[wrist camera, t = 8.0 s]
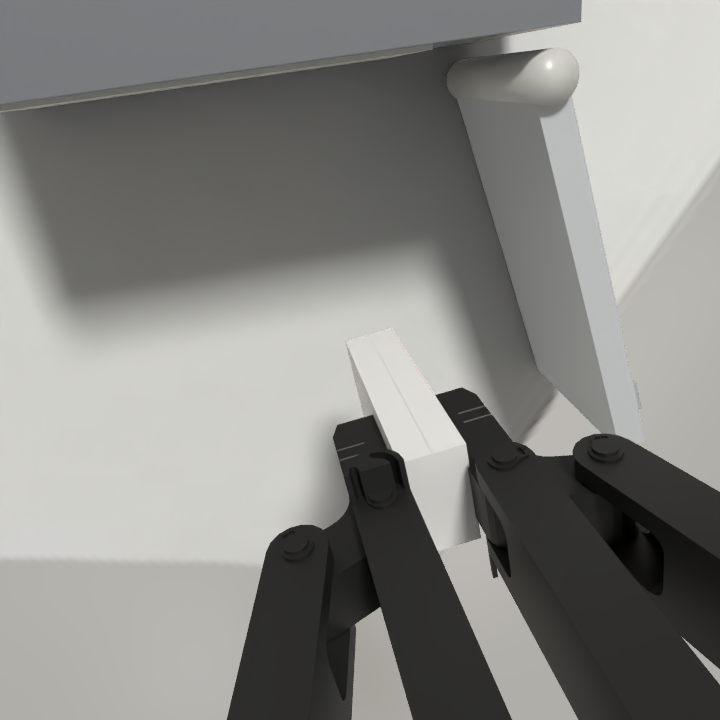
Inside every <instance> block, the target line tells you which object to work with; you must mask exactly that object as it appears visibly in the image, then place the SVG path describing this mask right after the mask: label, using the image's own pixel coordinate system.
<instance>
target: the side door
mask: <svg viewBox="0 0 720 720" xmlns="http://www.w3.org/2000/svg"><path fill="white" fill-rule="evenodd" d="M578 79H579V66H578V63H577V60H576V59H575V57H574V56H573V54H572V53H571V52H569V51H568V50H566V49H563V48H550V49H542V50H533V51H525V52H517V53H509V54H501V55H492V56H484V57H476V58H468V59H461V60H459V61H457V62H455V63H454V64H453V65H452V66H451V68H450V69H449V71H448V74H447V79H446V83H447V88H448V90H449V92H450V94H451V95H452V96H453V97H455V98H456V99H457V100H458V104H459V107H460V110H461V114H462V117H463V120H464V124H465V127H466V130H467V134H468V137H469V140H470V144H471V147H472V150H473V154H474V157H475V161H476V164H477V167H478V171H479V174H480V177H481V181H482V184H483V187H484V191H485V194H486V197H487V201H488V204H489V207H490V211H491V214H492V218H493V221H494V224H495V228H496V231H497V234H498V238H499V241H500V244H501V248H502V251H503V254H504V258H505V261H506V264H507V268H508V271H509V274H510V278H511V281H512V285H513V288H514V291H515V295H516V298H517V301H518V305H519V308H520V311H521V315H522V318H523V321H524V325H525V328H526V331H527V335H528V338H529V342H530V345H531V348H532V352H533V355H534V358H535V362H536V365H537V368H538V370H539V371H540V372H541V373H542V374H543V375H544V376H545V377H546V378H547V379H548V380H549V381H550V382H551V383H552V384H553V385H554V386H555V387H556V388H557V389H558V390H559V391H560V392H561V393H562V394H563V395H564V396H565V397H566V398H567V399H568V400H569V401H570V402H571V403H572V404H573V405H574V406H575V407H576V408H577V409H578V410H579V411H580V412H581V413H582V414H583V415H584V416H585V417H586V418H587V419H588V420H589V421H590V422H591V423H592V424H593V425H594V426H595V427H596V428H597V429H598V430H599V431H600V432H601V433H602V434H605V433H606V434H613V435H619V436H621V437H624V438H626V439H629V440H631V441H632V442H634V443H636V444H639V443H641V442H643V441H645V437H644V433H643V428H642V423H641V419H640V415H639V409H641V403H640V398H639V393H638V388H637V383H636V382H635V381H634V380H632V376H631V372H630V367H629V362H628V358H627V353H626V348H625V344H624V339H623V334H622V330H621V325H620V320H619V315H618V311H617V306H616V301H615V297H614V292H613V287H612V282H611V278H610V273H609V268H608V264H607V259H606V254H605V250H604V245H603V240H602V236H601V231H600V226H599V222H598V217H597V212H596V207H595V203H594V198H593V193H592V189H591V184H590V179H589V175H588V170H587V165H586V161H585V156H584V151H583V146H582V142H581V137H580V132H579V128H578V123H577V118H576V114H575V109H574V104H573V100H572V94H573V92H574V90H575V88H576V86H577V83H578Z"/></svg>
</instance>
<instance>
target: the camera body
mask: <svg viewBox="0 0 720 720" xmlns="http://www.w3.org/2000/svg"><path fill="white" fill-rule="evenodd" d="M581 4H582V0H0V112H9V111H18V110H27V109H36V108H43V107H50V106H57V105H64V104H71V103H78V102H85V101H92V100H99V99H106V98H113V97H120V96H127V95H134V94H141V93H148V92H155V91H162V90H169V89H176V88H183V87H190V86H197V85H204V84H211V83H218V82H225V81H232V80H239V79H246V78H253V77H260V76H267V75H274V74H281V73H288V72H295V71H302V70H309V69H316V68H323V67H330V66H337V65H344V64H351V63H358V62H365V61H372V60H379V59H386V58H392V57H397V56H402V55H408V54H413V53H418V52H423V51H428V50H433V48H438V47H445V46H452V45H459V44H466V43H473V42H479V41H484V40H489V39H494V38H499V37H505V36H510V35H515V34H520V33H526V32H531V31H536V30H541V29H547V28H552V27H557V26H562V25H568V24H573V23H578V22H581Z"/></svg>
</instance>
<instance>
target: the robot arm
mask: <svg viewBox="0 0 720 720" xmlns="http://www.w3.org/2000/svg"><path fill="white" fill-rule="evenodd" d="M345 342H346V346H347V350H348V354H349V358H350V362H351V366H352V370H353V374H354V378H355V382H356V386H357V390H358V394H359V398H360V402H361V406H362V410H363V414H364V417H363V418H360V419H357V420H353V421H350V422H346V423H343V424H339V425H337V428H336V430H335V433H334V436H333V440H334V443H335V447H336V450H337V454H338V458H339V461H340V465H341V468H342V472H343V475H344V479H345V483H346V486H347V490H348V493H349V499H350V502H349V506H348V509H347V510H346V512H345V514H344V515H343V516H342V517H341V518H340V519H339V520H338V521H337V522H335V523H334V524H333V525H331V526H330V527H328V528H326V529H325V530H322V529H321V528H319V527H316V526H314V525H299V526H295V527H292V528H289V529H287V530H285V531H284V532H282V533H280V534H279V535H278V536H277V537H276V538H275V539H274V540H273V541H272V542H271V543H270V545H269V547H268V549H267V552H266V555H265V560H264V564H263V568H262V572H261V577H260V581H259V585H258V590H257V594H256V598H255V603H254V607H253V611H252V616H251V620H250V623H249V628H248V632H247V636H246V640H245V645H244V649H243V653H242V658H241V662H240V666H239V670H238V675H237V679H236V683H235V688H234V692H233V696H232V700H231V705H230V709H229V713H228V717H227V720H351V716H352V697H353V678H354V659H355V638H356V627H355V624H356V623H357V622H359V621H360V620H361V619H363V618H364V617H366V616H367V615H369V614H370V613H372V612H373V611H375V610H376V609H378V608H379V607H381V609H382V613H383V616H384V620H385V623H386V627H387V630H388V634H389V637H390V641H391V644H392V648H393V651H394V655H395V658H396V662H397V665H398V669H399V672H400V676H401V679H402V683H403V686H404V689H405V693H406V697H407V700H408V704H409V707H410V711H411V714H412V717H413V720H512V719H511V717H510V714H509V712H508V710H507V708H506V705H505V703H504V701H503V699H502V696H501V694H500V691H499V689H498V687H497V685H496V683H495V680H494V678H493V676H492V673H491V671H490V669H489V667H488V664H487V662H486V660H485V657H484V655H483V653H482V651H481V648H480V646H479V644H478V641H477V639H476V637H475V635H474V632H473V630H472V628H471V626H470V623H469V621H468V619H467V616H466V614H465V612H464V610H463V607H462V605H461V603H460V601H459V598H458V596H457V594H456V592H455V589H454V587H453V585H452V582H451V581H450V578H449V576H448V573H447V571H446V569H445V566H444V564H443V562H442V560H441V557H440V555H439V553H438V551H440V550H444V549H447V548H450V547H453V546H456V545H459V544H463V543H466V542H469V541H472V540H476V539H479V538H481V535H480V529H479V523H480V525H481V527H482V529H483V530H484V532H485V534H486V538H487V545H488V552H489V558H490V565H491V571H492V575H493V578H495V577H498V574H497V569H498V571H499V572H500V574H501V576H502V578H503V580H504V582H505V584H506V585H507V587H508V589H509V591H510V593H511V595H512V597H513V599H514V600H515V602H516V604H517V606H518V608H519V610H520V612H521V613H522V615H523V617H524V619H525V621H526V623H527V624H528V626H529V628H530V630H531V632H532V634H533V636H534V637H535V639H536V641H537V643H538V645H539V647H540V649H541V651H542V653H543V654H544V656H545V658H546V660H547V662H548V664H549V665H550V667H551V669H552V671H553V673H554V675H555V677H556V678H557V680H558V682H559V684H560V686H561V688H562V690H563V691H564V693H565V695H566V697H567V699H568V701H569V703H570V705H571V706H572V708H573V710H574V712H575V714H576V716H577V718H578V719H579V720H720V685H719V683H718V682H717V681H716V680H715V678H714V677H713V676H712V675H711V673H710V672H709V671H708V670H707V668H706V667H705V666H704V665H703V663H702V662H701V661H700V660H699V658H698V657H697V656H696V655H695V653H694V652H693V651H692V650H691V648H690V647H689V646H688V645H687V643H686V642H685V641H684V640H683V638H684V639H685V640H686V641H688V642H689V643H690V644H691V645H692V646H693V647H694V648H696V649H697V650H698V651H699V652H700V653H702V654H703V655H704V656H705V657H706V658H707V659H709V660H710V661H711V662H712V663H713V664H714V665H716V666H717V667H718V668H719V669H720V492H719V491H717V490H715V489H714V488H711V487H710V486H708V485H707V484H705V483H703V482H702V481H699V480H698V479H696V478H694V477H693V476H691V475H689V474H688V473H686V472H684V471H683V470H681V469H679V468H677V467H675V466H674V465H672V464H670V463H669V462H667V461H665V460H663V459H662V458H660V457H658V456H656V455H655V454H653V453H651V452H649V451H648V450H646V449H644V448H643V447H641V446H639V445H637V444H636V443H634V442H632V441H631V440H629V439H626V438H624V437H621V436H619V435H613V434H606V433H605V434H593V435H591V436H587V437H584V438H582V439H581V440H580V441H578V442H577V443H576V444H575V446H574V449H573V455H569V456H555V457H542V456H537V455H535V453H534V452H533V451H532V450H530V449H529V448H528V447H527V446H525V445H522V444H519V443H516V442H513V441H512V440H511V439H510V438H509V436H508V435H507V434H506V432H505V431H504V430H503V429H502V427H501V426H500V425H499V423H498V422H497V421H496V419H495V418H494V417H493V416H492V415H491V413H490V412H489V410H488V409H487V408H486V407H485V406H484V404H483V403H482V401H481V400H480V399H479V397H478V396H477V395H476V394H474V393H472V392H470V391H468V390H466V389H464V388H458V389H455V390H452V391H448V392H445V393H441V394H438V395H435V394H434V393H433V391H432V390H431V388H430V387H429V385H428V383H427V382H426V380H425V379H424V377H423V376H422V374H421V372H420V371H419V369H418V368H417V366H416V365H415V363H414V362H413V360H412V358H411V357H410V355H409V354H408V352H407V351H406V349H405V348H404V346H403V344H402V343H401V341H400V340H399V338H398V337H397V335H396V333H395V332H394V330H393V329H392V328H389V329H386V330H382V331H379V332H375V333H371V334H368V335H364V336H361V337H357V338H354V339H350V340H346V341H345ZM681 636H682V637H683V638H682V637H681Z"/></svg>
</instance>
